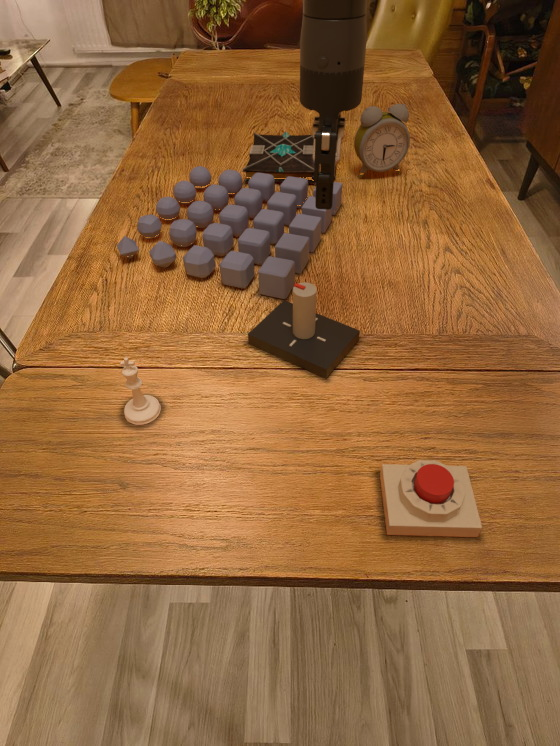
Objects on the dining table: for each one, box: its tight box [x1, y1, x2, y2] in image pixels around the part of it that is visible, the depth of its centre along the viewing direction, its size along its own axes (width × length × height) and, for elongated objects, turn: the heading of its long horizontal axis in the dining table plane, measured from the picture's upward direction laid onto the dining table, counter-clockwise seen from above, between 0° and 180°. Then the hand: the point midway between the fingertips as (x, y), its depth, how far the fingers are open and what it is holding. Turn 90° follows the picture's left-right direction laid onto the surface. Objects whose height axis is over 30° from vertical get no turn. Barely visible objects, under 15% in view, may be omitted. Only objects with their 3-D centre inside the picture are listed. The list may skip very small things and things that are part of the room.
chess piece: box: [119, 357, 162, 426], centre depth 67 cm, size 5×5×10 cm
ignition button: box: [414, 464, 454, 504], centre depth 57 cm, size 4×4×2 cm
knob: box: [292, 281, 318, 339], centre depth 75 cm, size 3×3×8 cm
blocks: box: [116, 165, 343, 300], centre depth 101 cm, size 35×34×5 cm
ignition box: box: [379, 459, 483, 538], centre depth 59 cm, size 10×8×4 cm
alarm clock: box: [353, 103, 411, 179], centre depth 115 cm, size 12×7×15 cm, turn 102°
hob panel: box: [247, 299, 361, 380], centre depth 79 cm, size 14×10×2 cm
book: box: [241, 131, 316, 186], centre depth 122 cm, size 22×17×5 cm
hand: (325, 193), depth 71 cm, fingers open, 8 cm apart
